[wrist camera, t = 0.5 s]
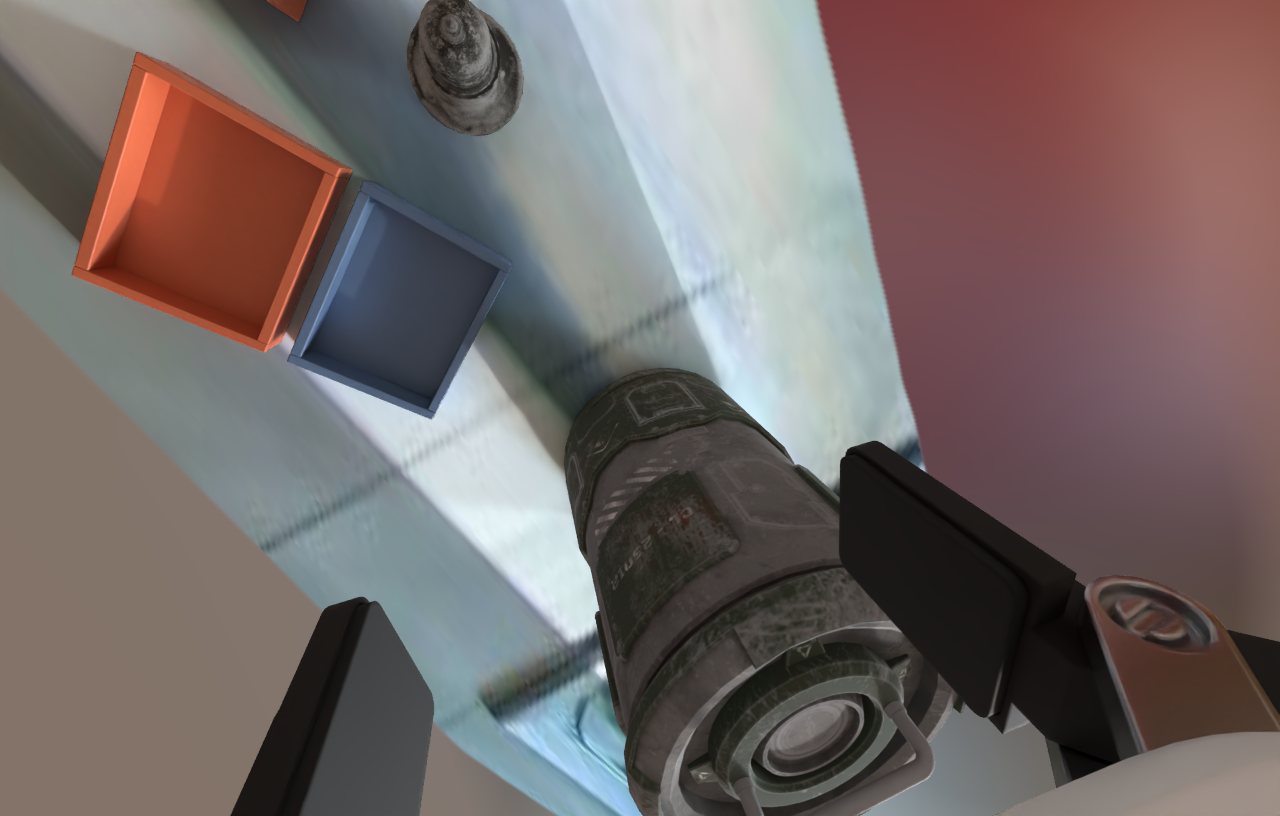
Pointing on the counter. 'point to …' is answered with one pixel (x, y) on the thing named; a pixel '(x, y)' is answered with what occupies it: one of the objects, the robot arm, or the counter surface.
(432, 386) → the blue tray
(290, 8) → the terracotta block
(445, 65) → the dark chess piece
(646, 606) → the canister
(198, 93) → the terracotta tray
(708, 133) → the counter surface
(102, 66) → the counter surface
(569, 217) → the counter surface
